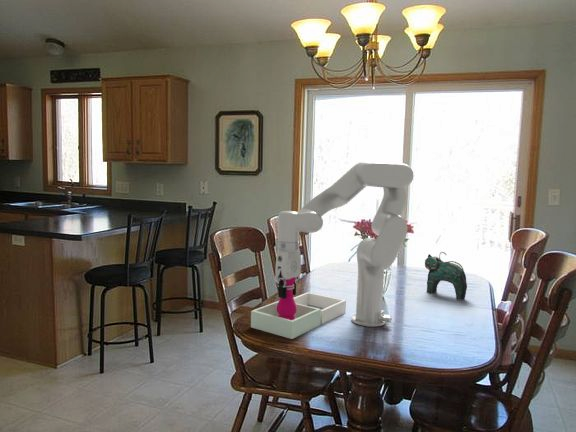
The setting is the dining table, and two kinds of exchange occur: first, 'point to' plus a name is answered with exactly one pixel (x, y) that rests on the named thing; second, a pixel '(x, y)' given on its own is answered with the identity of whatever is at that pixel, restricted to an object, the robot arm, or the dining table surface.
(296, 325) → the bin
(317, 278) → the dining table surface
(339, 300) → the crate
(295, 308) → the pepper mill
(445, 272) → the ceramic cat
